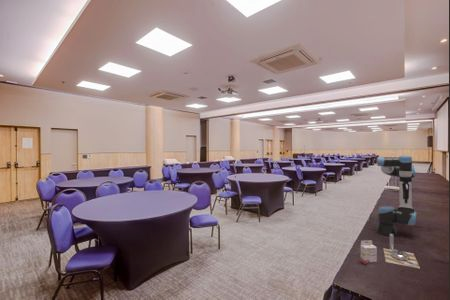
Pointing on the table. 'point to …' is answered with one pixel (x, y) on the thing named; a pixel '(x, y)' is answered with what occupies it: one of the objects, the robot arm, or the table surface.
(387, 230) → the robot arm
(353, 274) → the table surface
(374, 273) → the table surface
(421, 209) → the table surface
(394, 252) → the cam capstan
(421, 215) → the table surface
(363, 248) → the ink cartridge box
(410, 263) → the level stand
